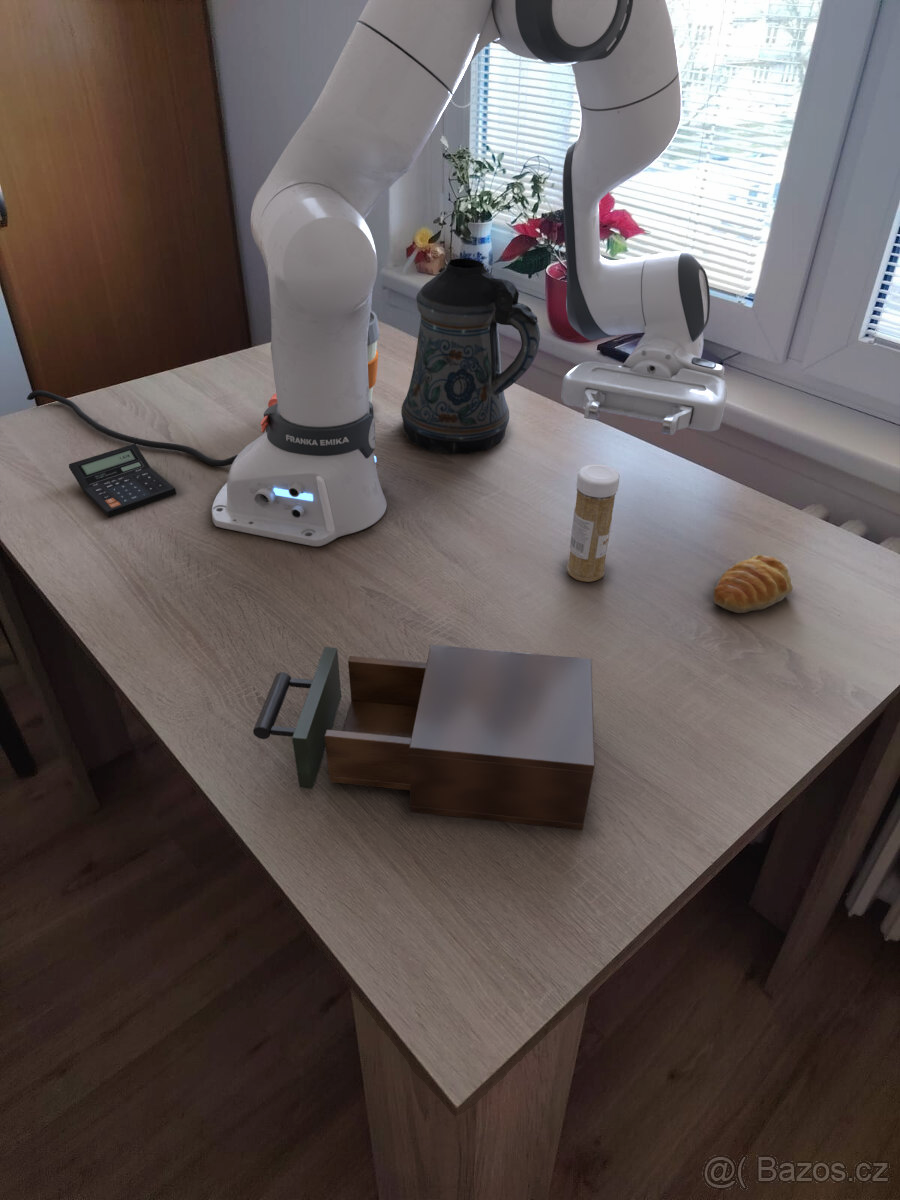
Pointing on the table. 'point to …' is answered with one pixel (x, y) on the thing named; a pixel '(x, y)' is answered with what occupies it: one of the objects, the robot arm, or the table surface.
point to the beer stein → (465, 360)
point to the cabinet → (503, 737)
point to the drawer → (351, 721)
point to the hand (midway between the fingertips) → (628, 420)
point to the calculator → (120, 480)
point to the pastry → (753, 585)
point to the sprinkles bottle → (592, 521)
